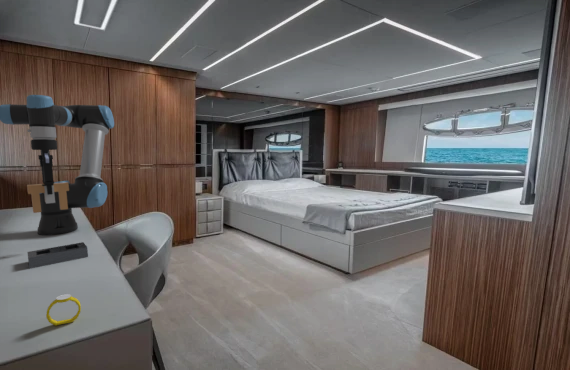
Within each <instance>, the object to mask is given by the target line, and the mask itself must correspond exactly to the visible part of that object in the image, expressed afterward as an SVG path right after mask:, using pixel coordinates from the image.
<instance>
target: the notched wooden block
mask: <svg viewBox="0 0 570 370" xmlns="http://www.w3.org/2000/svg"><path fill="white" fill-rule="evenodd" d="M42 184H43V183H38V184H37V183H36V184H27V185H26V188H27V194H28V195H31V202H32V203H31V204H32V212H33V214H37V213H41V204H40V194H39V193H45V189H44V186H42ZM69 184H70V183H69ZM69 184H68V182H65V183H54V184H53V185H54V192H58V194H59V204H60V209H61V210H64V209H68V204H67V193H66V191H69Z"/></svg>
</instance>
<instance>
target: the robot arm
mask: <svg viewBox="0 0 570 370" xmlns="http://www.w3.org/2000/svg"><path fill="white" fill-rule="evenodd" d="M0 122H1V123H2V124H4V125H12V126H14V125H16V126H18V125H22V126H23V125H29V126H28V127H29V129H27V133H29V134H30V138H31V140H30V146H31V150H33V151H40V154H38V155H37V157H38V160H39V166H40V167H41V176H42V183H41V184H42V186H44V189H45V193H39V194H40V204H41V212H40V219H39V223H38V226H37V234H38V235H44V236H48V235H60V234H65V233H70V232H74V231H76V230H77V229H78V228H79V227H78V225H79V224H78V222H77V221H76V218H75V216H74V214H73V210H72V209H80V208H81V209H85V208H86V209H87V208H89V209H92V208H99V207H101V206H103V205H104V204H105V203H106V200H107V197H108V186H107V184H106V183H105V182H104V180H103V178H101V177H102V176H101V174H102V165H103V159H104V158H103V157H104V147H105V138H106V135H108V134H109V133H110V130H112V129H113V128H114V127H115V119H114V115H113V112H112V110H111V108H110V107H109V106H107V105H101V104H96V105H94V104H91V105H90V104H71V105H57V104H55V103H54V100H53V98H52V97H51V96H49V95H44V94H29V95H27V96H26V104H15V103H14V104H11V103H9V104H1V105H0ZM56 126H59V127H67V128H74V129H75V128H77V129H82V131H83V132H84V139H83V145H82V152H81V153H82V154H81V162H80V168H79V175H78V176H77V177H75V178H74V182H73V183H71V182H70V180H62V181H61V180H60V181H54V173H53V165H54V162H53V160H54V156H53V154H51V153H50V152H51V151H53V150H54V151H57V150H58V141H57V140H56V139H57V137H58V136H57V130H56V129H57V128H56ZM65 182H68V184H69V191H66V193H67V204H68V209H64V210H61V209H60V204H59V194H58V192H54V185H53V184H54V183H65Z"/></svg>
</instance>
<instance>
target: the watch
mask: <svg viewBox="0 0 570 370" xmlns="http://www.w3.org/2000/svg"><path fill="white" fill-rule="evenodd" d="M69 301H71V302H74V303H75V305H77V308H78V309H77V312H76V314H75V315H74V316H72V317H71V318H68V319H62V320H58V321H57V320H56V319H53V318H52V317H51V315H50V310H51V309H52V307H53V306H55V305H56V304H57V303H59V304H63V303H66V302H69ZM81 307H82V305H81V302H80V301H79V299H78V298H76V297H74V296H72V294H70V293H65V294H61V295H58V296H56V297H55V299H54V300H53V301H52V302H51V303H50V304H49V306H48V307H47V310H46V317H45V318H46V320H47V321H48V322H49V324H51V325H53V326H59V325H64V324H71V323H73V322H74V321H75V320H77V319H78V318H79V316H80V314H81V310H82V308H81Z"/></svg>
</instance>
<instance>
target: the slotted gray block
mask: <svg viewBox="0 0 570 370" xmlns="http://www.w3.org/2000/svg"><path fill="white" fill-rule="evenodd" d="M88 257H89V252H88V246H87V244H85V242H82V241H81V242H77V243H71V244H65V245H58V246H54V247H47V248H42V249H36V250H31V251H27V259H28V260H27V261H28V267H29V269H34V268H40V267H44V266H49V265H54V264H58V263H59V264H60V263H64V262H67V261H74V260H77V259H83V258H88Z"/></svg>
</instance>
